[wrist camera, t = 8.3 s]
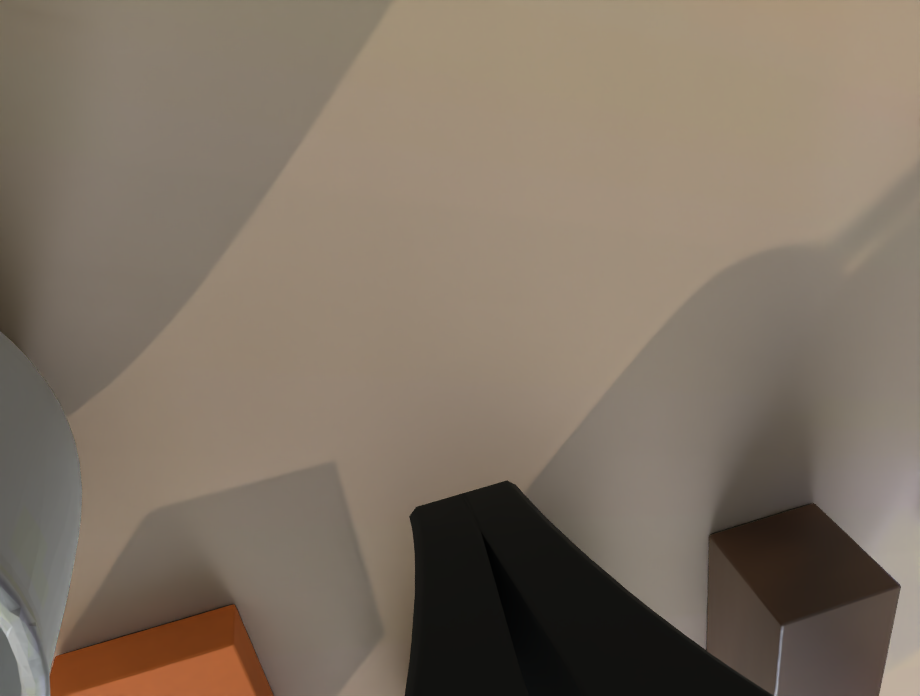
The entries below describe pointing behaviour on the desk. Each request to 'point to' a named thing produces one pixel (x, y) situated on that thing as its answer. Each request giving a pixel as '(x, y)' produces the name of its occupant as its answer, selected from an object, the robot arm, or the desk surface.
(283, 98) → the desk surface
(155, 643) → the orange box
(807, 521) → the walnut block
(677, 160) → the desk surface
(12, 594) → the teacup
